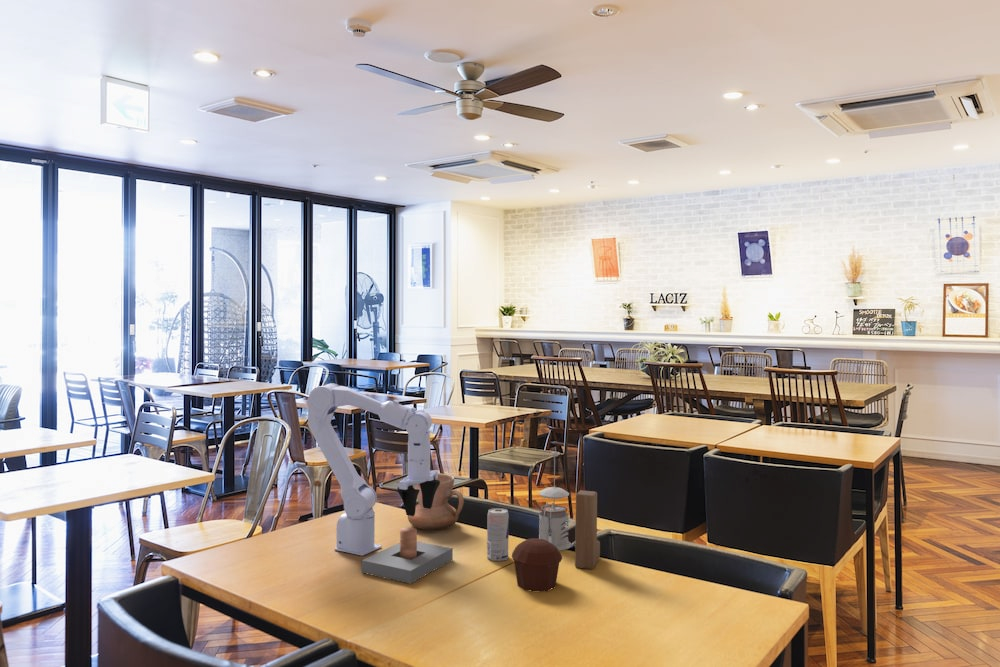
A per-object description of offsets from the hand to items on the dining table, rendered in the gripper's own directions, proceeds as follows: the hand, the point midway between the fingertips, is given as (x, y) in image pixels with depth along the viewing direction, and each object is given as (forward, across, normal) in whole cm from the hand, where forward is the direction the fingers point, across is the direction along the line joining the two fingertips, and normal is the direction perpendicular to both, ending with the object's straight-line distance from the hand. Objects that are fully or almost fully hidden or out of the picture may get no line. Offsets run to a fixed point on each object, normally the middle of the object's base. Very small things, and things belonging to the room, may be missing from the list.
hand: (419, 511), depth 183 cm
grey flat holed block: (+10, -10, -4) cm, 15 cm away
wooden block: (+11, +14, -41) cm, 44 cm away
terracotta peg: (+10, -10, -4) cm, 15 cm away
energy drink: (+11, +6, -20) cm, 23 cm away
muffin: (+11, -5, -36) cm, 38 cm away
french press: (+11, +22, -28) cm, 37 cm away
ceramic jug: (+11, +20, +9) cm, 24 cm away
